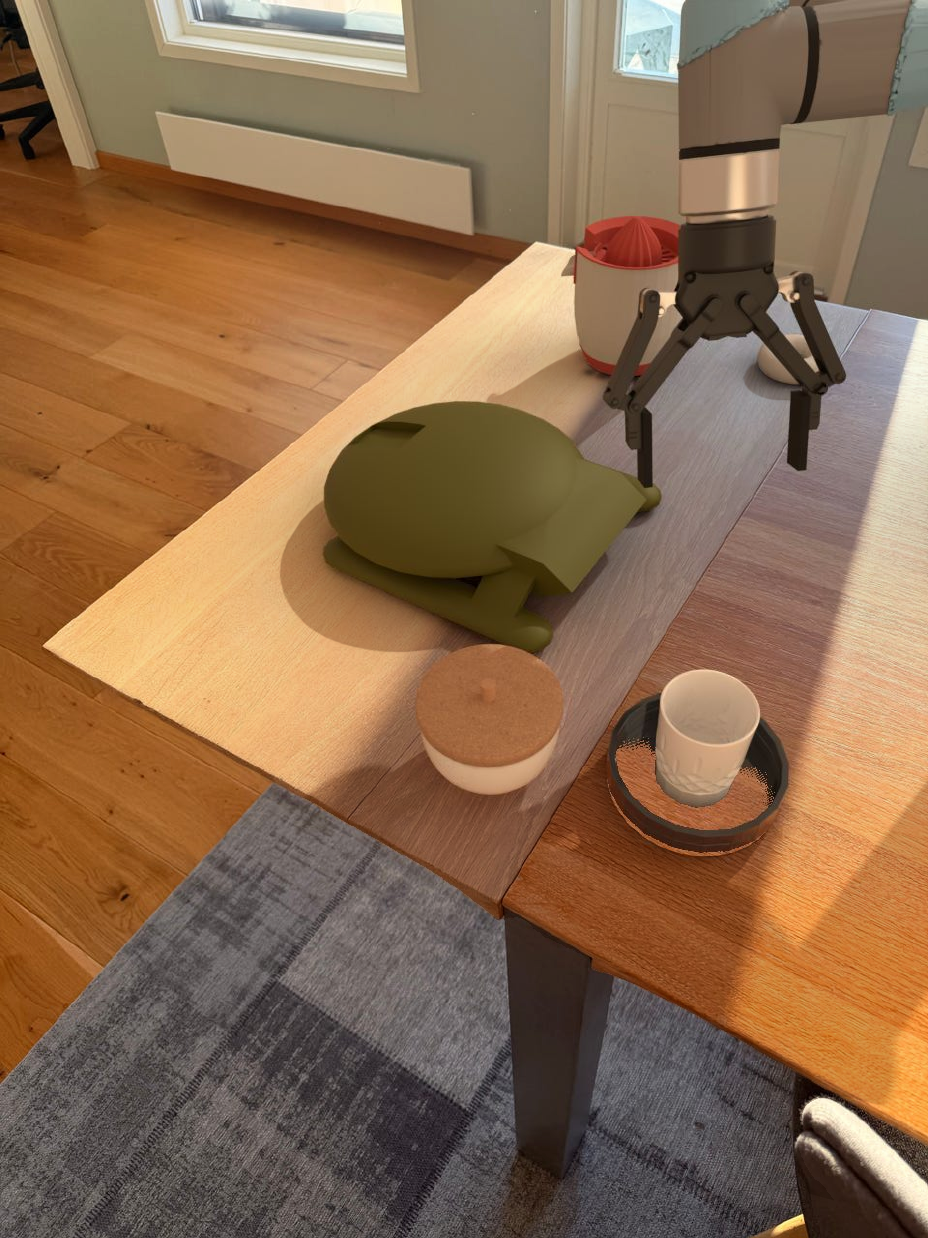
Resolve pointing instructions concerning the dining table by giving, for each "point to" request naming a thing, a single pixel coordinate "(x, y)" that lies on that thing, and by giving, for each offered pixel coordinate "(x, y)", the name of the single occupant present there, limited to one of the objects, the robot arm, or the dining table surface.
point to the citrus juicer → (622, 285)
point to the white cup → (703, 735)
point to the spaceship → (475, 514)
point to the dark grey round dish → (760, 754)
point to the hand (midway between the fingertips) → (720, 475)
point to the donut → (773, 365)
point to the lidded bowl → (489, 717)
